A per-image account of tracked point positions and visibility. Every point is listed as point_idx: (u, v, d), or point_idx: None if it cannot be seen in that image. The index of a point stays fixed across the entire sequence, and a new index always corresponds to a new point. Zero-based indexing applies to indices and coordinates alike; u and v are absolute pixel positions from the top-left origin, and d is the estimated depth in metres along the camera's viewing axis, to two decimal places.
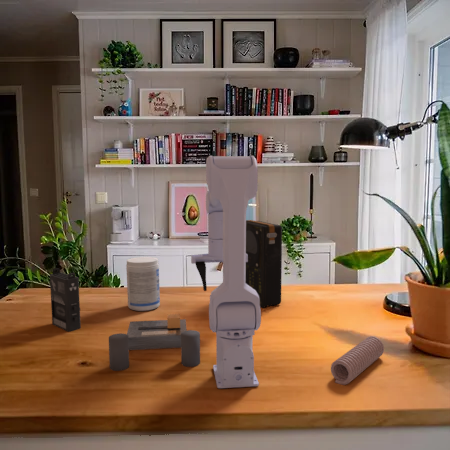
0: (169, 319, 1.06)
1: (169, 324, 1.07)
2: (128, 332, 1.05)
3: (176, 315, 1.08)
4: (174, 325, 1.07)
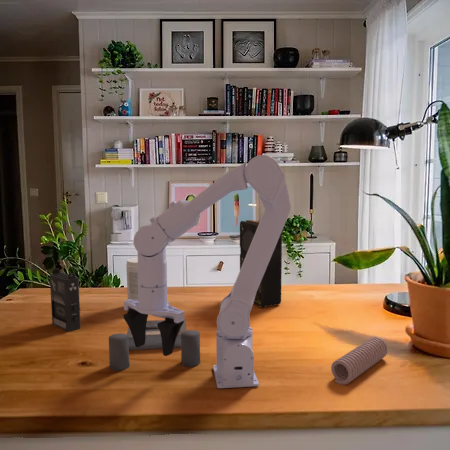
0: None
1: None
2: (128, 332, 1.05)
3: None
4: None
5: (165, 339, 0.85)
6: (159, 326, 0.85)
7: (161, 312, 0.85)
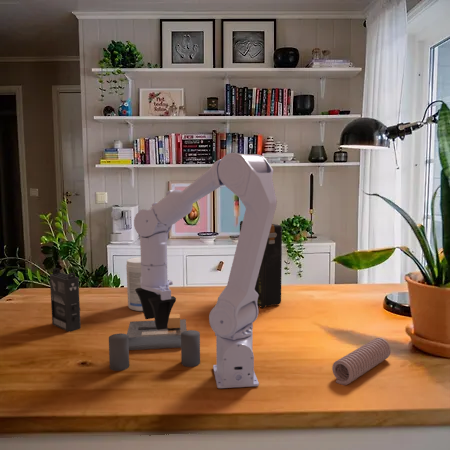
0: (169, 319, 1.06)
1: (169, 324, 1.07)
2: (128, 332, 1.05)
3: (176, 315, 1.08)
4: (174, 325, 1.07)
5: (155, 314, 0.94)
6: (149, 301, 0.93)
7: (152, 289, 0.94)
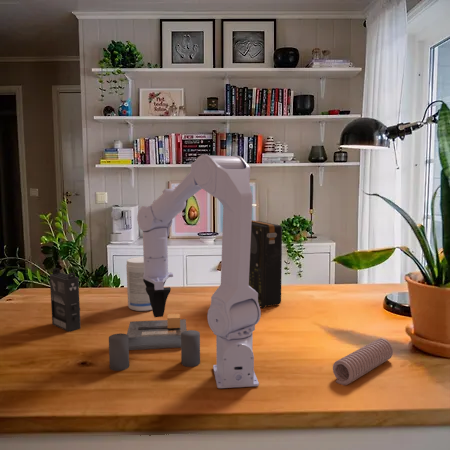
0: (169, 319, 1.06)
1: (169, 324, 1.07)
2: (128, 332, 1.05)
3: (176, 315, 1.08)
4: (174, 325, 1.07)
5: (151, 302, 1.02)
6: None
7: (149, 279, 1.02)
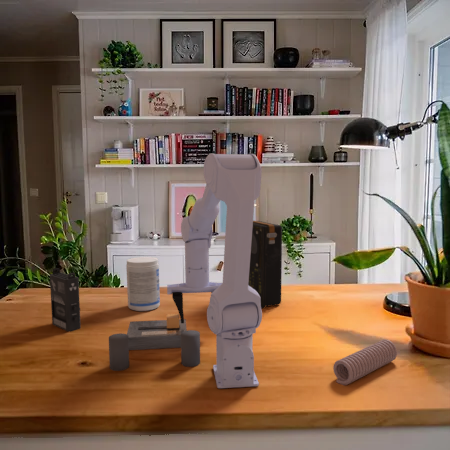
0: (168, 319, 1.06)
1: (168, 324, 1.07)
2: (128, 332, 1.05)
3: (175, 315, 1.08)
4: (173, 325, 1.07)
5: None
6: None
7: (213, 286, 1.06)
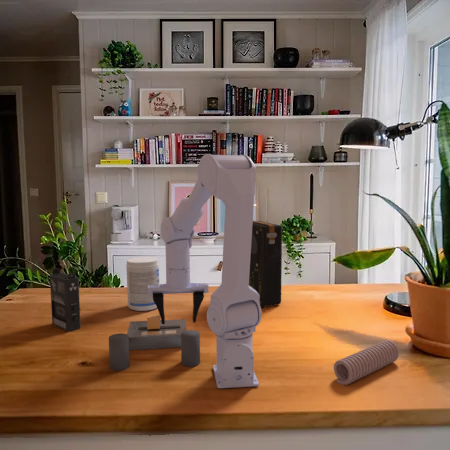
0: (149, 320, 1.06)
1: (149, 325, 1.06)
2: (128, 332, 1.05)
3: (156, 316, 1.08)
4: (154, 326, 1.06)
5: (198, 308, 1.07)
6: (195, 298, 1.05)
7: (194, 287, 1.06)
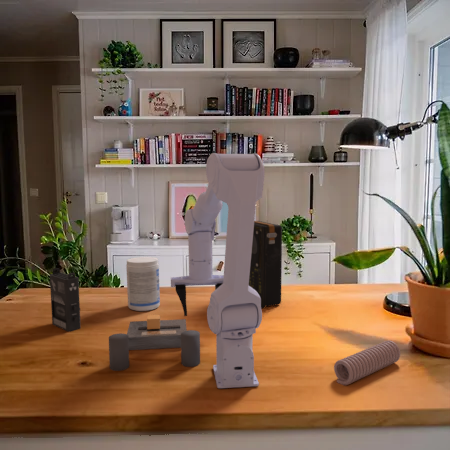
0: (149, 320, 1.06)
1: (149, 325, 1.06)
2: (128, 332, 1.05)
3: (156, 316, 1.08)
4: (154, 326, 1.06)
5: None
6: None
7: (217, 279, 1.06)
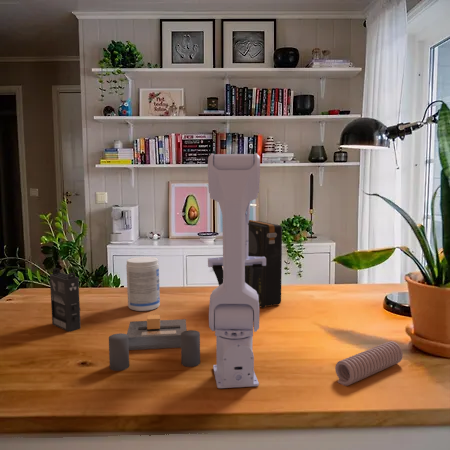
0: (149, 320, 1.06)
1: (149, 325, 1.06)
2: (128, 332, 1.05)
3: (156, 316, 1.08)
4: (154, 326, 1.06)
5: (256, 280, 1.11)
6: (255, 270, 1.09)
7: (253, 259, 1.10)
